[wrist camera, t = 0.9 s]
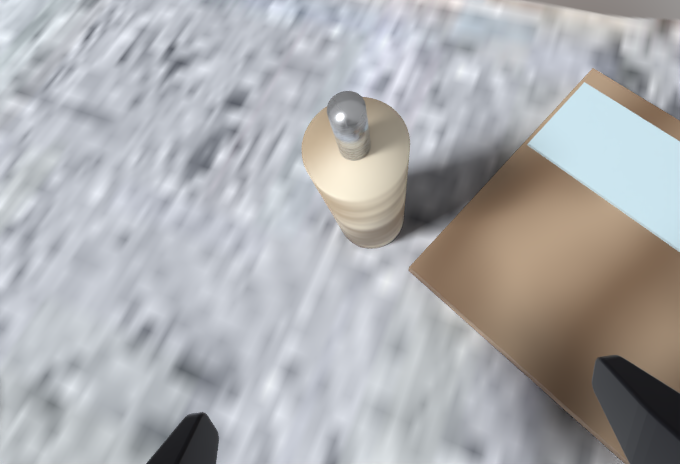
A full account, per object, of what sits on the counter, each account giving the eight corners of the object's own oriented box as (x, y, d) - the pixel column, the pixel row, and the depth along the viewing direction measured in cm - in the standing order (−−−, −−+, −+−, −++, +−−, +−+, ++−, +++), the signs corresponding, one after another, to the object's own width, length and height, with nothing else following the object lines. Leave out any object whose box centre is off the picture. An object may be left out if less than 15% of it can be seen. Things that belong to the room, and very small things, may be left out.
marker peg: (417, 214, 23) (441, 99, 11) (373, 261, 23) (348, 197, 11) (369, 174, 24) (344, 29, 12) (326, 219, 24) (256, 117, 12)
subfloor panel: (917, 294, 19) (968, 292, 17) (718, 546, 17) (752, 570, 16) (580, 83, 23) (594, 65, 22) (408, 270, 22) (409, 266, 21)
